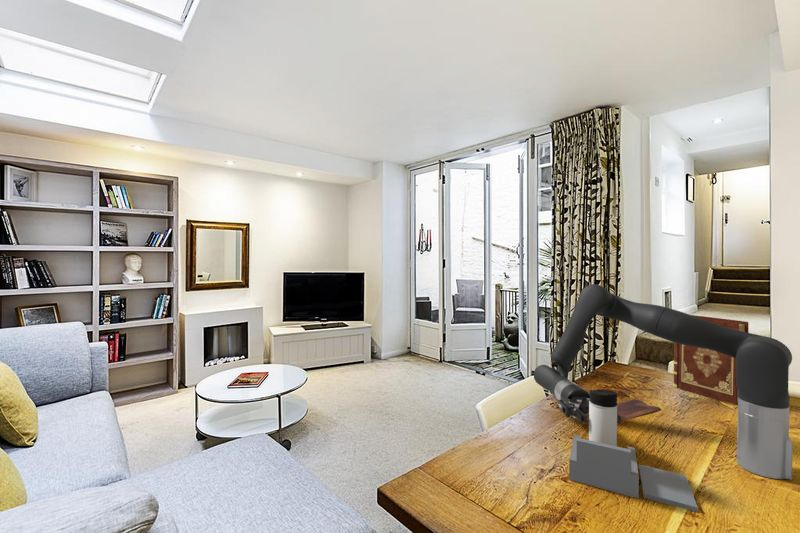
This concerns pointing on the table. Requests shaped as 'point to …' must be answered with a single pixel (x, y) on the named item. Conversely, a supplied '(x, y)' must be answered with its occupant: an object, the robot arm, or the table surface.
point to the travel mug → (603, 416)
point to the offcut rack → (604, 466)
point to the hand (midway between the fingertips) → (602, 420)
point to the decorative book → (708, 367)
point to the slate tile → (667, 487)
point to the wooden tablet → (634, 409)
